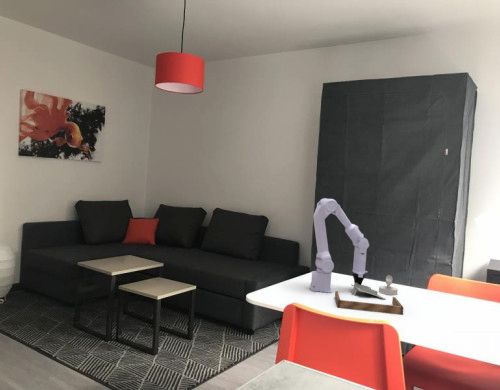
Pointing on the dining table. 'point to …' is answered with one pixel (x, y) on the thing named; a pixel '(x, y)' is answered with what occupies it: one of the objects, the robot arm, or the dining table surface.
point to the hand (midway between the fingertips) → (357, 289)
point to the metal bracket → (364, 290)
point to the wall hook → (388, 287)
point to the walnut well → (370, 305)
